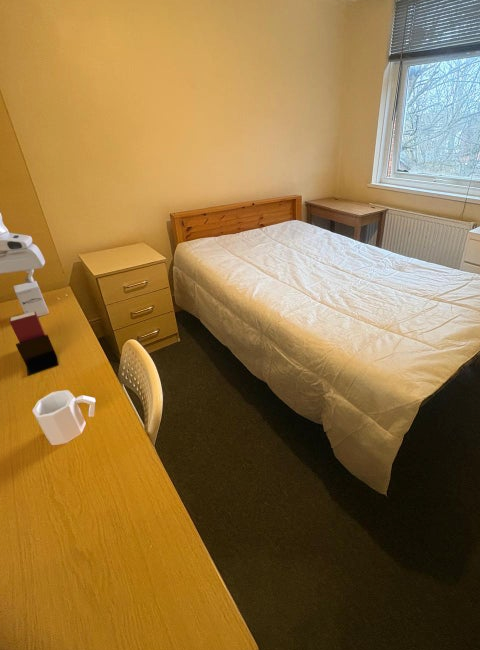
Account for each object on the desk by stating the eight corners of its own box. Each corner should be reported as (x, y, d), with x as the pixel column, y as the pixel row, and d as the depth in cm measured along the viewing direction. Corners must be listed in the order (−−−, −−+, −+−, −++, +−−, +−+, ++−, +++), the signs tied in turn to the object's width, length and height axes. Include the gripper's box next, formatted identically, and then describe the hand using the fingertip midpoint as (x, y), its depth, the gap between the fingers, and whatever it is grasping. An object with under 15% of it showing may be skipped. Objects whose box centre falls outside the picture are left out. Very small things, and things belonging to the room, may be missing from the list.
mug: (46, 451, 76) (31, 423, 72) (47, 426, 83) (33, 398, 78) (103, 427, 82) (92, 400, 78) (100, 405, 89) (89, 379, 84)
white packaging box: (27, 320, 125) (14, 292, 119) (25, 313, 130) (12, 285, 124) (50, 313, 130) (38, 286, 124) (47, 306, 134) (35, 280, 129)
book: (9, 317, 98) (9, 321, 96) (35, 310, 102) (35, 314, 100) (29, 359, 105) (29, 364, 103) (53, 352, 109) (53, 356, 106)
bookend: (26, 366, 102) (15, 343, 98) (57, 356, 107) (47, 334, 102) (27, 376, 98) (15, 353, 94) (58, 365, 103) (48, 342, 99)
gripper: (-60, 251, 87) (-36, 295, 94) (31, 242, 95) (48, 283, 101) (-49, 244, 92) (-26, 286, 99) (37, 235, 100) (52, 275, 106)
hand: (12, 284), depth 100 cm, fingers open, 8 cm apart
